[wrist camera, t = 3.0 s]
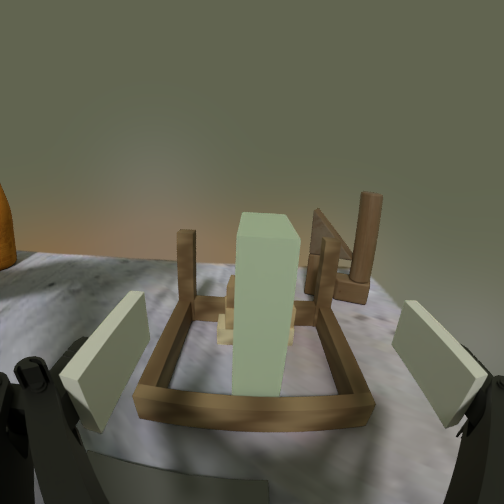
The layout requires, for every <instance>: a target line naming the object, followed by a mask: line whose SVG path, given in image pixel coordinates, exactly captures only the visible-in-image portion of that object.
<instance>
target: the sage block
mask: <svg viewBox="0 0 504 504" xmlns="http://www.w3.org/2000/svg"><path fill="white" fill-rule="evenodd" d="M236 243H237V244H236V267H235V295H234V327H233V366H232V395H233V396H253V397H279V395H280V390H281V384H282V378H283V372H284V365H285V359H286V352H287V346H288V339H289V332H290V325H291V318H292V310H293V303H294V295H295V287H296V279H297V270H298V261H299V252H300V243H301V239H300V237H299V236H298V234H297V232H296V231H295V229H294V228H293V226H292V224H291V223H290V221H289V219H288V218H287V216H286V215H284V214H269V213H251V212H242V216H241V220H240V224H239V229H238V233H237V242H236Z"/></svg>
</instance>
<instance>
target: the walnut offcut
mask: <svg viewBox="0 0 504 504" xmlns="http://www.w3.org/2000/svg"><path fill="white" fill-rule="evenodd" d="M234 295H235V275H231V277H230V279H229V282H228V285H227V299H226V308H234Z"/></svg>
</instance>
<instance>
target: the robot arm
mask: <svg viewBox="0 0 504 504" xmlns="http://www.w3.org/2000/svg"><path fill="white" fill-rule="evenodd" d="M149 341H150V333H149V327H148V319H147V312H146V304H145V295H144V292H138V291H129V293H128V294H127V295H126V296H125V297H124V298H123V299H122V300H121V301H120V303H119V304H118V305H117V306H116V307H115V308H114V309H113V310H112V312H111V313H110V314H109V315H108V316H107V317H106V318H105V320H104V321H103V322H102V323H101V324H100V325H99V327H98V328H97V329H96V330H95V331H94V332H93V334H92V335H91V336H90V337H89V338H88V337H82V338H80V339H78V340H77V341H75V342H74V343H73V344H72V345H71V346H70V347H69V348H68V351H66V352H65V353H64V354H63V357H61V358H60V359H59V360H58V361H57V363H56V364H55V365H54V366H53V367H52V369H51V370H50V371H49V370H48V368H47V365H46V363H45V361H44V360H43V359H42V358H40V357H36V356H33V357H27V358H24V359H22V360H21V361H19V362H18V363H17V364H16V366H15V368H14V373H15V375H16V378H17V380H18V382H19V384H12V383H10V381H9V379H8V377H7V375H6V374H4V373H3V372H0V504H35V498H34V468H35V472H36V476H37V480H38V483H39V487H40V490H41V494H42V497H43V500H44V503H45V504H110V503H109V501H108V499H107V497H106V496H105V494H104V492H103V490H102V487H101V485H100V483H99V481H98V479H97V477H96V475H95V472H94V470H93V468H92V465H91V463H90V461H89V458H88V456H87V453H86V450H85V448H84V445H83V442H82V440H81V437H80V434H79V431H78V429H77V427H76V424H77V422H78V421H79V419H80V421H81V423H82V424H83V426H84V428H85V429H88V430H91V431H94V432H98V433H101V434H102V432H103V430H104V428H105V426H106V424H107V422H108V420H109V418H110V416H111V414H112V412H113V410H114V408H115V406H116V404H117V402H118V400H119V398H120V396H121V394H122V392H123V390H124V388H125V386H126V384H127V382H128V380H129V378H130V376H131V374H132V373H133V371H134V369H135V367H136V365H137V363H138V361H139V359H140V357H141V356H142V354H143V352H144V350H145V348H146V346H147V344H148V343H149ZM392 346H393V347H394V349H395V350H396V352H397V353H398V355H399V356H400V358H401V359H402V361H403V362H404V364H405V365H406V367H407V368H408V370H409V371H410V373H411V374H412V376H413V377H414V379H415V380H416V382H417V384H418V385H419V387H420V388H421V390H422V391H423V393H424V395H425V396H426V398H427V399H428V401H429V403H430V404H431V406H432V407H433V409H434V411H435V412H436V414H437V416H438V417H439V419H440V421H441V422H442V424H443V426H444V427H445V429H446V428H449V427H452V426H454V425H457V424H458V423H459V422H460V420H461V419H462V417H463V416H464V414H465V415H466V417H467V418H468V419H467V421H466V422H465V424H464V425H463V426H462V428H461V429H460V431H459V432H458V433H457V435H456V437H458V436H459V435H460V434H461V433H462V432H463V434H462V437H461V438H462V439H461V444H460V448H459V452H458V457H457V461H456V464H455V468H454V472H453V475H452V479H451V482H450V485H449V488H448V491H447V494H446V497H445V500H444V503H443V504H504V376H500V375H498V376H495V377H493V375H492V374H491V373H490V372H489V371H488V370H487V369H486V368H485V367H484V365H483V364H482V363H481V362H480V361H478V360H477V358H476V357H475V356H473V354H472V353H471V352H470V351H469V350H468V348H466V347H465V346H463V345H462V344H460V343H459V342H458V341H457V340H456V339H455V338H454V337H453V336H452V335H451V334H450V333H449V332H448V331H447V330H446V329H445V328H444V327H443V326H442V325H441V324H440V323H439V322H438V321H437V320H436V319H435V318H434V317H433V316H432V315H431V314H430V313H429V312H428V311H427V310H425V309H424V308H423V307H422V306H421V305H420V304H419V303H418V302H417V301H416V300H411V301H410V300H409V301H404V304H403V308H402V311H401V315H400V318H399V322H398V325H397V329H396V332H395V335H394V338H393V341H392Z"/></svg>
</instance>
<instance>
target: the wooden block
mask: <svg viewBox="0 0 504 504" xmlns="http://www.w3.org/2000/svg"><path fill="white" fill-rule="evenodd" d="M382 201H383V195H381V194H378V193H374V192H366V191H363V192H361V196H360V205H359V214H358V222H357V229H356V237H355V243H354V250H353V253H352V252H351V251H350V249H349V247H348V246H347V245H346V243H345V242H344V241H343V240H342V238H341V237H340V235H339V234H338V233H337V231H336V230H335V229H334V227H333V226H332V225H331V223H330V222H329V221H328V220H327V218H326V217H325V216H324V214H323V213H322V212H321V210H320V209H319V208H317V209H316V210H314V216H313V225H312V234H311V243H310V254H309V259H308V268H307V275H306V283H305V290H304V292H305V293H306V294H310V295H314V294H315V287H316V280H317V273H318V266H319V259H320V251H321V243H322V237H330V238H338V239H339V240H340V241H341V248H340V255H339V258H340V259H346V260H352V262H351V268H350V274H349V275H348V274H342V273H337V274H336V280H335V286H334V292H333V298H334V299H337V300H342V301H347V302H353V303H358V304H363V305H365V304H366V302H367V298H368V293H369V289H370V276H371V271H372V266H373V261H374V255H375V250H376V244H377V237H378V231H379V224H380V217H381V210H382Z"/></svg>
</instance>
